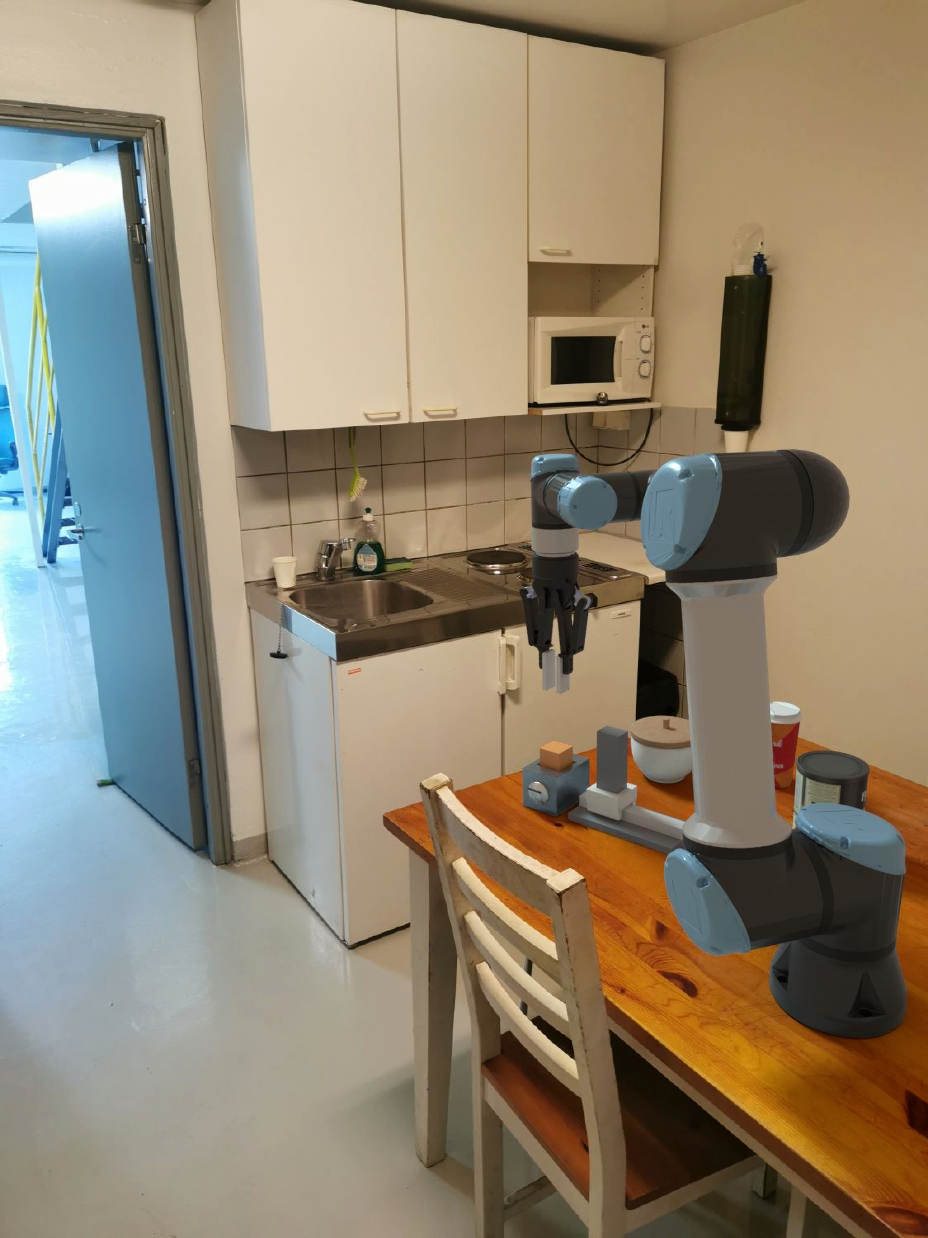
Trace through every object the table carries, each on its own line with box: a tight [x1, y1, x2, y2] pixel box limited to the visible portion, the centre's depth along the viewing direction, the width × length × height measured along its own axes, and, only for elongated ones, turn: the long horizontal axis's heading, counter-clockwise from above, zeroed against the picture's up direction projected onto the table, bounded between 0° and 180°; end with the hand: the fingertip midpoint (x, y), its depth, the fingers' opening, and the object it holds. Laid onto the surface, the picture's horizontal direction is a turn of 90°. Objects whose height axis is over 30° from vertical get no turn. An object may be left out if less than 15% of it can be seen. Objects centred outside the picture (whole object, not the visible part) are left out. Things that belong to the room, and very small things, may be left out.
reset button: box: [539, 740, 574, 772], centre depth 157 cm, size 4×4×4 cm
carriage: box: [586, 725, 638, 821], centre depth 150 cm, size 6×6×14 cm
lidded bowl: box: [629, 715, 692, 784], centre depth 166 cm, size 13×13×11 cm
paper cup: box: [770, 701, 803, 790], centre depth 162 cm, size 8×8×14 cm
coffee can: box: [792, 749, 871, 829], centre depth 140 cm, size 10×10×14 cm
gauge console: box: [522, 753, 591, 818], centre depth 158 cm, size 11×7×7 cm, turn 140°
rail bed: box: [567, 792, 687, 856], centre depth 150 cm, size 9×19×3 cm, turn 50°
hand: (556, 689), depth 154 cm, fingers open, 2 cm apart
